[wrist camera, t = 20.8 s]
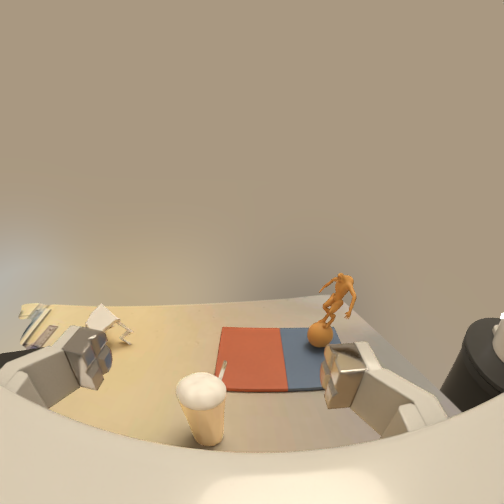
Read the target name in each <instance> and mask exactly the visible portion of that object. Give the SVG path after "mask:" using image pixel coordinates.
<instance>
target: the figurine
mask: <svg viewBox="0 0 504 504" xmlns="http://www.w3.org/2000/svg"><path fill="white" fill-rule="evenodd" d="M333 281H337V282H336V285H335V288H336V289H335V290H336V293H333V294H332V295H331V297H330V298H329V299H328V300H327V301H326V302H325V303H324V304H323V309H324V310H325V311H326V313H327V315H326V316H325V317H324V318H323V319H322V320H320V321H319V322H316V323H314V324H313V325H311V326H310V328H309V330H308V332H307V338H308V341H309V342H310V344H311V345H313V346H315V347H319V348H320V347H325V346H326V345H327V344H329V343H330V342H331V341H332V338H333V330H332V328H331V326H330V325H331V323H332V322H333V321H334V319H335V317H336V316H335V314H333V313H335V312H336V311H337V310H338V309H339V308H340V307H341V306H342V305H343V300H342V298H343V297H344V295H345V294H346V293H347V292H348V291H350V293H351V295H352V296H353V298H352V302H351V304H350V308H349V312H346V313H345V314H347V315H346V316H347V318H348V319H349V317H350V315H351V311H352V308H353V306H354V303H355V300H356V294H355V291H354V289H353V283H354V281H353V279H352V277H351V276H347V275H344V274H342V273H339V274H338V277H335V278H333V279H331V281H330V282H328V283H327V284H325V285H324V286H323V288H322V289H321V290H320V292H321V291H322V290H323V289H324V288H325V287H327V286H329V285H330V284H331V283H333ZM320 292H319V293H320ZM329 306H331V308H330V309H329V308H327V307H329ZM329 315H330V317H331V318H332V319H331V320H330V321H329V322H328V323H325V321H326V319H327V318H328V317H329ZM346 316H345V317H346ZM347 318H346V319H347Z"/></svg>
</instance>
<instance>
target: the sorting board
mask: <svg viewBox="0 0 504 504" xmlns="http://www.w3.org/2000/svg"><path fill="white" fill-rule="evenodd" d="M331 328H332V330H333V338H332V341H331V342H330V343H329V344H341V342H340V340H339V337H338V335H337V333H336V331H335V328H334V327H331ZM308 330H309V328H237V327H222V334H221V340H220V346H219V352H218V358H217V364H216V371H215V376H216V377H219V374H220V371H221V368H222V365H223V362H224V360H225V361H227V366H226V369H225V372H224V375H223V378H222V381H223V383H224V384H225V386H226V391H242V392H285V391H308V390H322V389H324V388H322V386H321V382H320V368H321V363H322V362H323V361H324V360H325V356H324V350H325V347H326V346H325V347H320V348H319V347H315V346H313V345H311V344H310V342H309V341H308V338H307V332H308Z"/></svg>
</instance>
